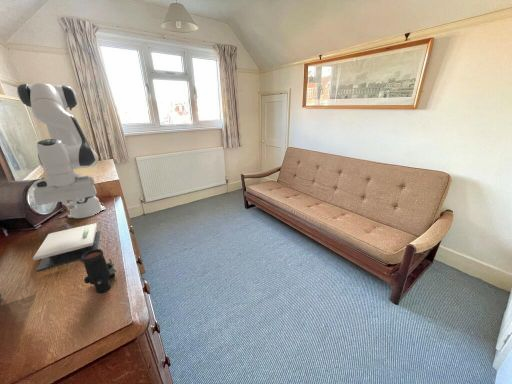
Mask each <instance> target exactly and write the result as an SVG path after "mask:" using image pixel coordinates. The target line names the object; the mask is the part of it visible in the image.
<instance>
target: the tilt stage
mask: <svg viewBox="0 0 512 384" xmlns="http://www.w3.org/2000/svg"><path fill="white" fill-rule="evenodd" d="M97 228H98V223H97V222H94V223H91V224H86V225H82V226H81V225H80V226H77V227H72V228H69V229H63V230H59V231H54V232H51V233H47V236H45V239H44V240H43V242H42V244H41V245H40V247H39V248H38V250H37V251H36V252H35V254H34V256H33V257H32V260H33V261H34V262H35V261H38V260H42V258H46V257H50V256H54V255H57V254H61V253H65V252H69V251H73V250H77V249H80V248H84V247H88V246H92V245H93V242H94V237H95V233H96V232H97Z"/></svg>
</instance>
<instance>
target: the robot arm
mask: <svg viewBox="0 0 512 384" xmlns="http://www.w3.org/2000/svg"><path fill="white" fill-rule="evenodd" d="M16 92H17V93H16V94H17V96H18V99H19V100H20V101H21V102H22V104H23V105H24V106H25V105H26V106H27V107H30V108H31V110H32V113H33V115H34V117H35V118H36V119H37V120H38V121H39V122H41V123H43V124H45V125H46V128H47V130H48V135H49V137H50V139H49V138H48V139H42V140H40V141H38V142H36V148H37V157H38V164H39V166H40V167H41V168H42V169H44V171H45V173H44V174H45V176H46V177H42V178H40V179H38V180H36V181H34V182H33V184H32V187H33V188H34V190H33V198H34V201H35V203H36V204H37V205H39V206H42V205H49V204H52V203H60V202H61V204H62V205H64V207H66V209H67V211H69V214H68V215H67V217H68V218H70V219H71V218H73V219H85V218H89V217H93V216H95V214H96V215H98V214H100V213H101V212H100V211H102V210H104V209H106V210H107V208H106V207H105V205H104V206H102V205H101V203H102V202H100V200H99V198H98V197H97V196H96V195H97V188H96V187H95V179H94V178H93V177H92V176H88V175H84V174H80V173H76V172H75V171H74V170H78V169H85V168H90V167H93V166H96V165H97V164H98V163H99V155H98V153H97V152H96V151H95V150H94V149H93V148H92V146H91V145H90V144H89V142H88V140H87V137H86V135H85V133H84V132H83V130H82V126H81V125H80V124H79V122H78V120H77V119H76V117H75V116H74V115H73V114H70V112H69V111H68V109H67V108H69V110H70V111H72V110H73V108H75V107H76V106H77V105H78V101H79V99H78V95H77V93H76V91H75V90H74V88H73V87H71V86H69V85H64V84H62V85H60V84H53V83H45V82H37V83H33V84H32V83H31V84H29V83H23V84H19V85H18V87H17V90H16ZM68 201H69V202H68ZM104 211H105V210H104ZM99 212H100V213H99ZM102 212H103V211H102ZM97 213H98V214H97Z"/></svg>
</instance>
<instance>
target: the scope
mask: <svg viewBox="0 0 512 384" xmlns="http://www.w3.org/2000/svg"><path fill="white" fill-rule="evenodd" d="M108 260H109V262H107V261H106V258H105V255H104V252H103V249H99V248H98V249H95V250H91V251H89V252H87V253H85V254H84V255H83V256H82V260H81V261H82V262H83V265H84V267H85V268H84V269H85V271H86V276H85V277H84V278H83V281H84V283H85V284H90V285H94V289H95V291H96V293H97V294H104V293H107V291H109V290H110V289H111V288H112V285H111V281H110V280H111V279H113V278H115V277H116V272H117V268H116V266H115V262H113V260H112V257H108Z"/></svg>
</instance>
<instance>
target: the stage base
mask: <svg viewBox="0 0 512 384" xmlns="http://www.w3.org/2000/svg"><path fill="white" fill-rule="evenodd" d="M100 234H102V232H101V230H99V231H96V233H95V237H94V242H93V245H92V246H88V247H84V248H80V249H77V250H73V251H69V252H65V253H61V254H57V255H54V256H50V257H46V258H42V259H40V262H39V265H38V266H37V268H36V270H35V272H36V273H39V272H43V271H46V270H51V269H53V268H56V267H60V266H64V265H67V264H71V263H74V262H78V261H82V256H83V255H84V254H85V253H87V252H89V251H91V250H95V249H99V248H100V247H99V246H100V240H101V235H100Z"/></svg>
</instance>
